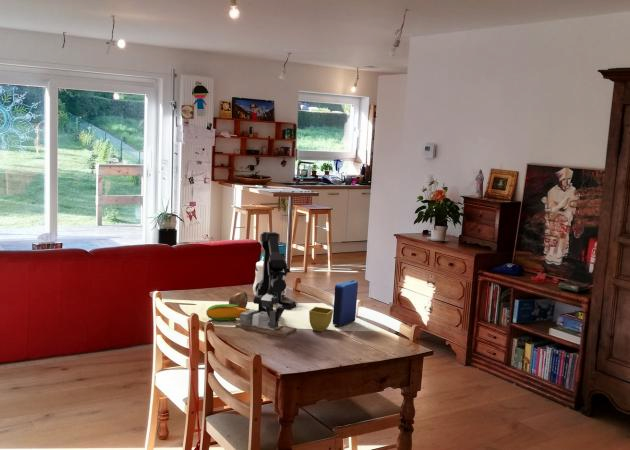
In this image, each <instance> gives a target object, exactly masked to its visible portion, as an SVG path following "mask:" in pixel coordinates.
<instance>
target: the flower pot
mask: <svg viewBox="0 0 630 450" xmlns="http://www.w3.org/2000/svg"><path fill="white" fill-rule="evenodd" d="M333 310H334V308H333V309H332V308H327V307H321V306H320V307H319V306H314V307H312V308H311V309H309V312H308V314H309V318H308V319H309V324H310V326H311V328H312V330H313V331H320V332H325V331H326V330H328V328H329V326H330V324H331V322H332V320H333Z"/></svg>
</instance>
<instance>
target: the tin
mask: <svg viewBox="0 0 630 450" xmlns="http://www.w3.org/2000/svg"><path fill="white" fill-rule="evenodd" d="M248 298H249V297H248V294H247V292H245V291H243V292H242V291H239V292H237V293H235V294H233V295H231V296H230V297H229V299H228V300H229V301H228V304H233V305H238V306H232V307H238V308H244V309H246V308H247V305H248Z"/></svg>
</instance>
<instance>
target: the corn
mask: <svg viewBox="0 0 630 450" xmlns="http://www.w3.org/2000/svg"><path fill="white" fill-rule="evenodd" d="M232 306H238V305H233V304H229V303H226V304H224V303H223V304H220V303H219V304H213V305H210V306H209V307H208V308H207V310H206V316H207V318H208V319H211V320H213V321H217V322H218V321H227V322H228V321H236V320H237V319H240V313H243V312H246V311H248V309H246V308H245V309H244V308H238V307H232Z"/></svg>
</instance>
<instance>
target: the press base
mask: <svg viewBox="0 0 630 450" xmlns="http://www.w3.org/2000/svg"><path fill="white" fill-rule="evenodd" d="M247 310H248V309H247ZM257 311H258V309H253V308H252V309H249V310H248V311H246V312H243V313H240V318H239V322H238V323H236V324H235V325H234V327H235V328H239V329H243V330H248V331H252V332H258V333H261V334H267V335H269V336H270V335H271V336H276V337H280V338H283V337H286V336H287V335H290V334H291V333H294V332H295V331H297V328H296V327H292V326H286V325H283V327H281V328H279V329H277V330H275V331H272V330H267V329H263V328H258V327H253V326H252V321H253V315H254V314H257Z"/></svg>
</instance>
